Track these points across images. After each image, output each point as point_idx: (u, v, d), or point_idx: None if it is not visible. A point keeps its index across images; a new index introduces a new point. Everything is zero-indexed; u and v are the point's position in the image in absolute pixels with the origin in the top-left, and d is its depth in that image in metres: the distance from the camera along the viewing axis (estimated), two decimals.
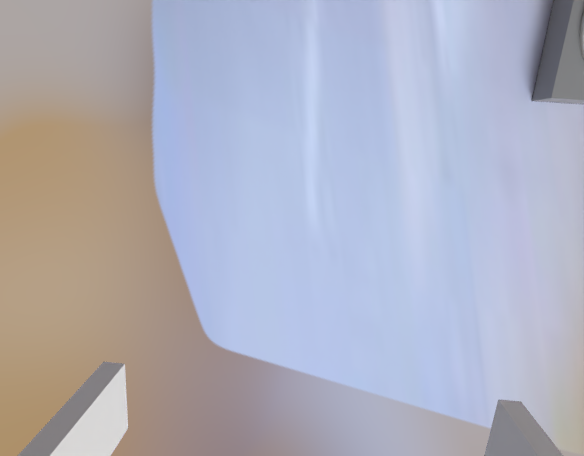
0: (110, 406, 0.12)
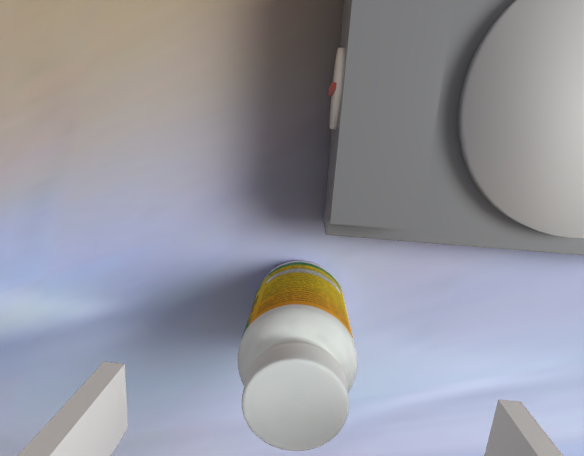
0: (110, 406, 0.12)
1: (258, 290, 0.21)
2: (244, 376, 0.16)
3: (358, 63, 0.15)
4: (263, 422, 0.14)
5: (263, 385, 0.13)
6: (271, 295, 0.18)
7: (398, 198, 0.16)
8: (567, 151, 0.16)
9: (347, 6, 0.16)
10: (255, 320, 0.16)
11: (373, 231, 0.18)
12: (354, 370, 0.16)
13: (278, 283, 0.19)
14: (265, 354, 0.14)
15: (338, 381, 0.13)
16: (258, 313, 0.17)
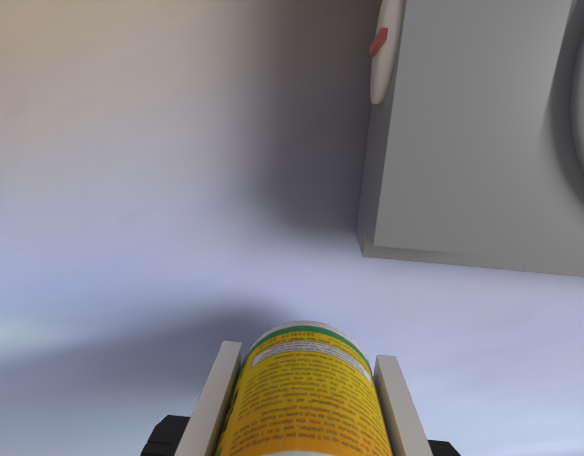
0: (236, 378, 0.14)
1: (240, 371, 0.13)
2: None
3: None
4: None
5: None
6: (257, 410, 0.10)
7: (481, 209, 0.11)
8: None
9: None
10: None
11: (432, 253, 0.13)
12: None
13: (269, 377, 0.11)
14: None
15: None
16: None
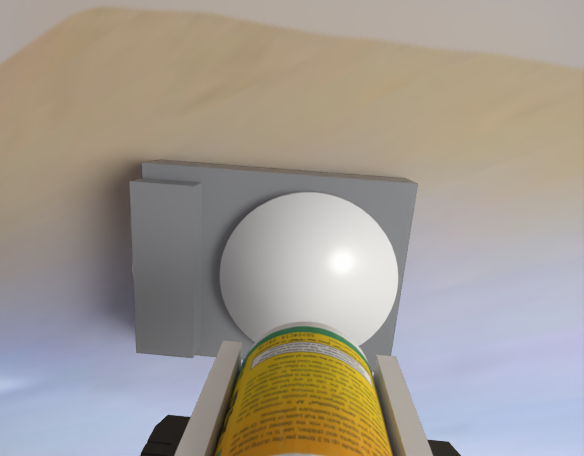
0: (236, 378, 0.14)
1: (240, 372, 0.13)
2: None
3: (140, 261, 0.24)
4: None
5: None
6: (257, 412, 0.10)
7: (177, 338, 0.25)
8: (289, 308, 0.25)
9: None
10: None
11: None
12: None
13: (269, 378, 0.11)
14: None
15: None
16: None
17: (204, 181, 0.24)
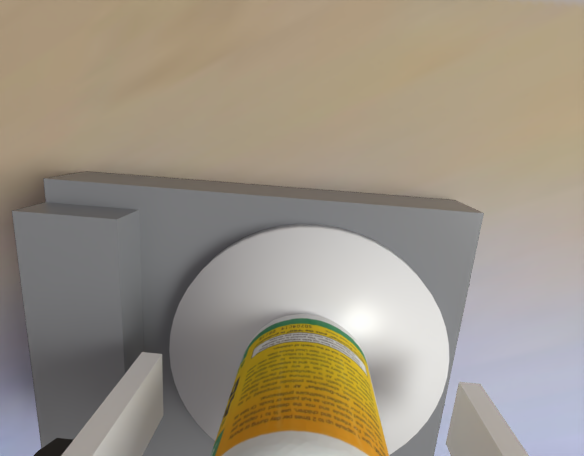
0: (150, 393, 0.13)
1: (241, 361, 0.14)
2: None
3: (39, 335, 0.15)
4: None
5: None
6: (256, 395, 0.11)
7: None
8: None
9: None
10: None
11: None
12: None
13: (269, 366, 0.12)
14: None
15: None
16: (231, 437, 0.10)
17: (143, 207, 0.15)
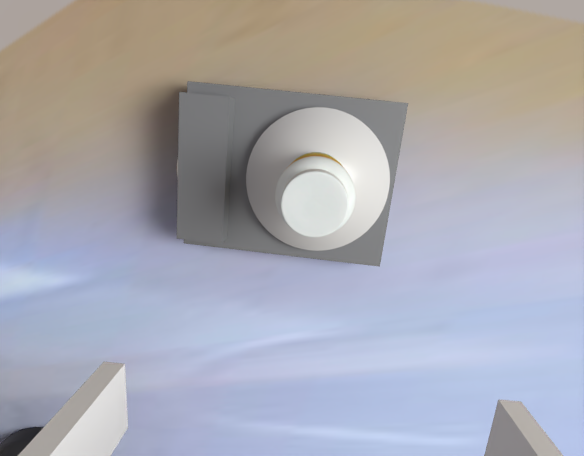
0: (110, 406, 0.12)
1: None
2: (279, 202, 0.24)
3: (184, 159, 0.30)
4: (293, 216, 0.22)
5: (295, 188, 0.21)
6: (298, 158, 0.25)
7: (210, 226, 0.31)
8: None
9: None
10: (288, 166, 0.24)
11: (209, 242, 0.33)
12: (353, 200, 0.24)
13: (302, 156, 0.27)
14: (296, 174, 0.22)
15: (342, 187, 0.21)
16: (289, 165, 0.24)
17: (237, 97, 0.30)
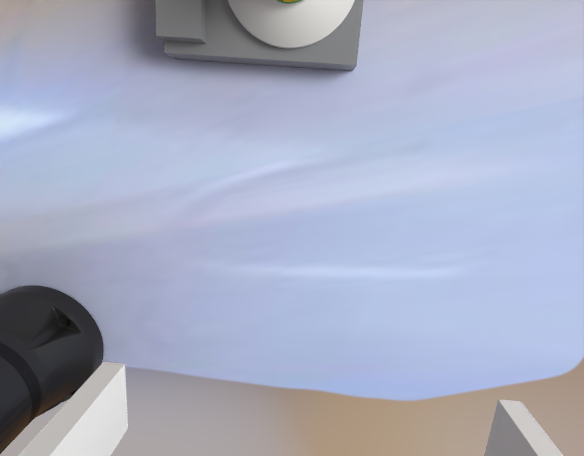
0: (110, 406, 0.12)
1: None
2: None
3: None
4: None
5: None
6: None
7: (188, 20, 0.32)
8: None
9: None
10: None
11: (188, 49, 0.34)
12: None
13: None
14: None
15: None
16: None
17: None
